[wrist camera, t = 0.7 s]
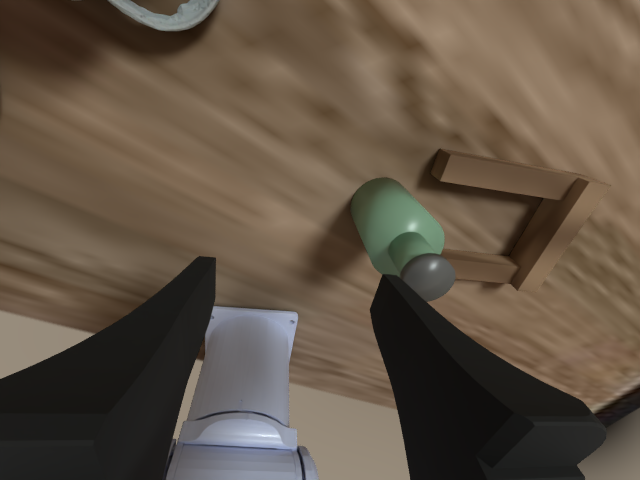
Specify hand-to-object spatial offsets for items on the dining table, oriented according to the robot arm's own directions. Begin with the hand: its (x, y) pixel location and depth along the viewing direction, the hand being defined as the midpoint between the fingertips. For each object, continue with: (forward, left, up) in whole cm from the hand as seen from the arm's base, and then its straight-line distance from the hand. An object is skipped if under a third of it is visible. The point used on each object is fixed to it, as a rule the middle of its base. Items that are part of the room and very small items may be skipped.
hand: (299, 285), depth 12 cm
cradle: (0, -14, -10) cm, 18 cm away
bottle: (0, -6, -10) cm, 12 cm away
